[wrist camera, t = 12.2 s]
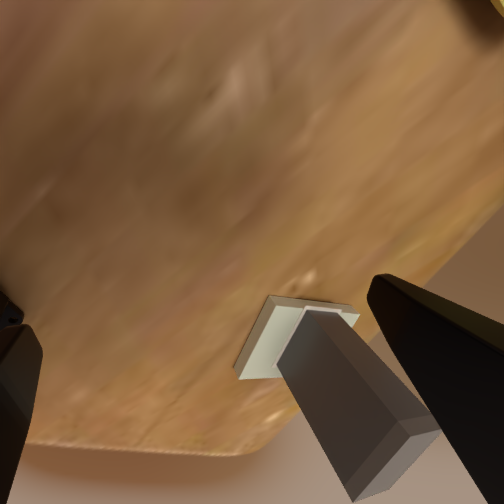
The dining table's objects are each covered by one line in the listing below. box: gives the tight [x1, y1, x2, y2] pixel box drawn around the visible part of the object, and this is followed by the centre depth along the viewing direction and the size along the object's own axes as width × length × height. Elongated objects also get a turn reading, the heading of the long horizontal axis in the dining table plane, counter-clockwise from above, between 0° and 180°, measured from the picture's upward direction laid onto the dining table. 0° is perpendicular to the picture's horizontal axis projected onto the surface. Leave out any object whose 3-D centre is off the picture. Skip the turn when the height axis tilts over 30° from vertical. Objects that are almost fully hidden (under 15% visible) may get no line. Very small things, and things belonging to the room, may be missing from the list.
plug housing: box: [276, 310, 442, 502], centre depth 25 cm, size 4×7×12 cm, turn 156°
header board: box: [234, 295, 360, 379], centre depth 29 cm, size 11×9×4 cm
